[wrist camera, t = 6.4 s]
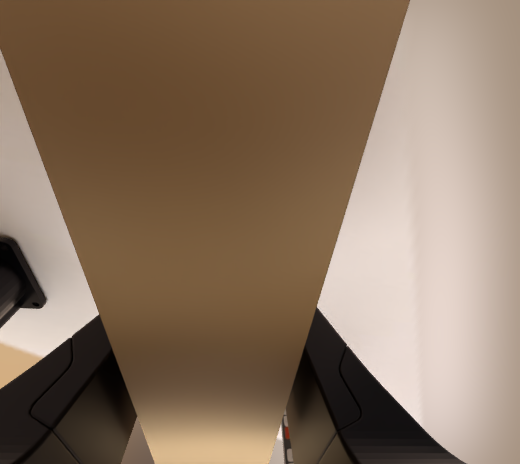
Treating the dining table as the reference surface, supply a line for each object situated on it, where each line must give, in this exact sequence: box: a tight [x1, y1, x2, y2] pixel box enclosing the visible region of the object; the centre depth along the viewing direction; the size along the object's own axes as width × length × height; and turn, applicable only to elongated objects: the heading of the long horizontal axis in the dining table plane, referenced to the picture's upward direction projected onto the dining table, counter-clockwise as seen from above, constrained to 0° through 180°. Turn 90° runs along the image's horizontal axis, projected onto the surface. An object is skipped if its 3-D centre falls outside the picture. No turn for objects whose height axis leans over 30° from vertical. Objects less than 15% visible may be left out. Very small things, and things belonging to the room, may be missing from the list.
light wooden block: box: [0, 0, 410, 464], centre depth 8 cm, size 16×4×5 cm, turn 175°
